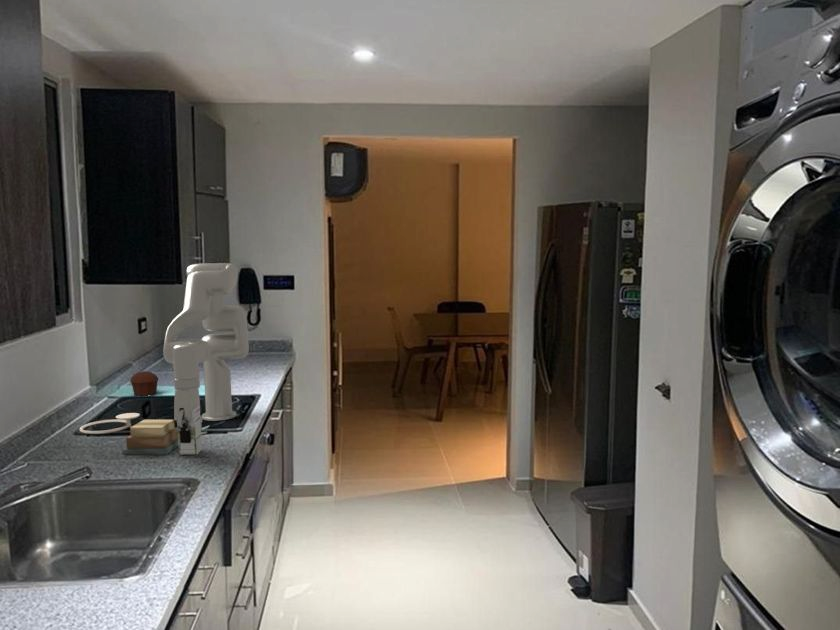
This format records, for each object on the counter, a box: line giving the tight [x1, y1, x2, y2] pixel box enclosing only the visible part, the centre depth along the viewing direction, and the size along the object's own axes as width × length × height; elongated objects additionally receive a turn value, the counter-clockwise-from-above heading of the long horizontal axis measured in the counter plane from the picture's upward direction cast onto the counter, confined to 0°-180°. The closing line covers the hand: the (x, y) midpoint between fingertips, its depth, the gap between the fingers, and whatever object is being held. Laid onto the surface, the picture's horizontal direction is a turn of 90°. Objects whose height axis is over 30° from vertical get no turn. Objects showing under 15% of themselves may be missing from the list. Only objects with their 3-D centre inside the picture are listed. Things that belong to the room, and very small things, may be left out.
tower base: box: [121, 419, 179, 455], centre depth 228 cm, size 14×14×8 cm
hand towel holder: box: [79, 412, 140, 435], centre depth 254 cm, size 17×4×21 cm
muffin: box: [129, 371, 159, 397], centre depth 306 cm, size 12×11×10 cm
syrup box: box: [176, 406, 203, 456], centre depth 222 cm, size 6×6×14 cm
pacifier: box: [200, 415, 210, 436], centre depth 245 cm, size 7×6×6 cm
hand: (189, 439), depth 222 cm, fingers closed on syrup box, 6 cm apart
